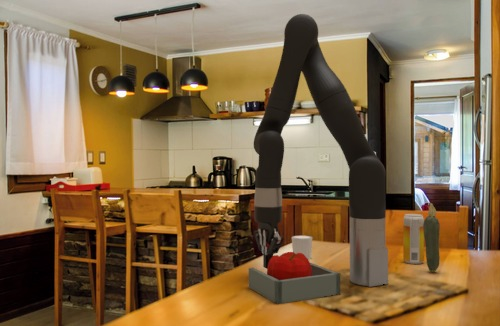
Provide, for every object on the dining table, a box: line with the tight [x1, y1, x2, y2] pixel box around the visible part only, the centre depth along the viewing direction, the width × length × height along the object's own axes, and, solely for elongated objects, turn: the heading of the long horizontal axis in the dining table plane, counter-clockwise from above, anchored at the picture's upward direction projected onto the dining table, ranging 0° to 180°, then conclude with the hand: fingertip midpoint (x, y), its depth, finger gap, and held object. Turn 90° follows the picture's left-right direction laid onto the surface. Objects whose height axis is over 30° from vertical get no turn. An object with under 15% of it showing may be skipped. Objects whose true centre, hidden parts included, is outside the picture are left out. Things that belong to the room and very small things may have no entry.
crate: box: [248, 262, 341, 305], centre depth 118 cm, size 15×17×5 cm
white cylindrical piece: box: [291, 234, 313, 260], centre depth 156 cm, size 7×7×7 cm
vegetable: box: [423, 202, 441, 273], centre depth 136 cm, size 4×4×20 cm
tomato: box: [266, 251, 312, 280], centre depth 119 cm, size 11×12×9 cm
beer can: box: [402, 213, 425, 265], centre depth 149 cm, size 6×6×15 cm
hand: (268, 267), depth 129 cm, fingers closed
